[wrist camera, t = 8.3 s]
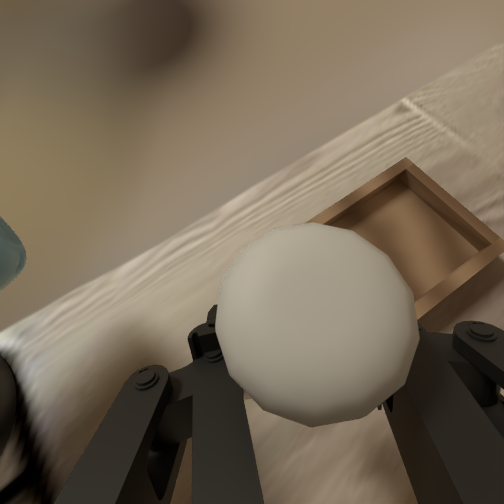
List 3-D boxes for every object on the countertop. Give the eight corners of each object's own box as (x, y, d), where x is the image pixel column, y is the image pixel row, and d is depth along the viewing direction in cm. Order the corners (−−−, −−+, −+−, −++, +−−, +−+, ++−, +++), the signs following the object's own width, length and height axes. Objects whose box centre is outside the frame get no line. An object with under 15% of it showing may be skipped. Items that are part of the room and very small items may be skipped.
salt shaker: (347, 325, 18) (489, 210, 6) (328, 429, 16) (493, 565, 4) (255, 299, 19) (224, 158, 7) (226, 393, 17) (112, 415, 5)
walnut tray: (356, 362, 29) (365, 360, 26) (273, 254, 34) (273, 243, 31) (489, 257, 32) (510, 246, 29) (395, 173, 37) (405, 157, 34)
